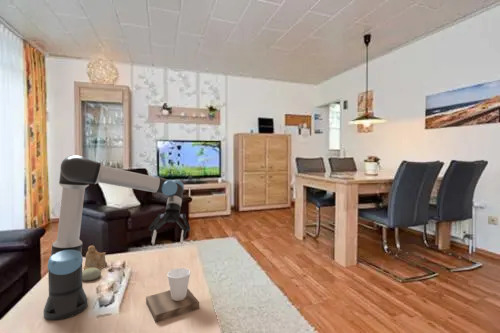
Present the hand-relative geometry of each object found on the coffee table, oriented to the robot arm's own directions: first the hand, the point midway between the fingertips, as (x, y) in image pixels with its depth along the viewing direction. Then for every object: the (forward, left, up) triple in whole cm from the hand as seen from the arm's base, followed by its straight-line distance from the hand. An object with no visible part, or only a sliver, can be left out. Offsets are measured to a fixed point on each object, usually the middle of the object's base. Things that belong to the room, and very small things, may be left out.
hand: (167, 243), depth 129 cm
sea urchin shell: (-30, +32, -23) cm, 50 cm away
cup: (0, -17, -19) cm, 26 cm away
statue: (-28, +46, -23) cm, 59 cm away
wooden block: (-3, -17, -22) cm, 28 cm away
